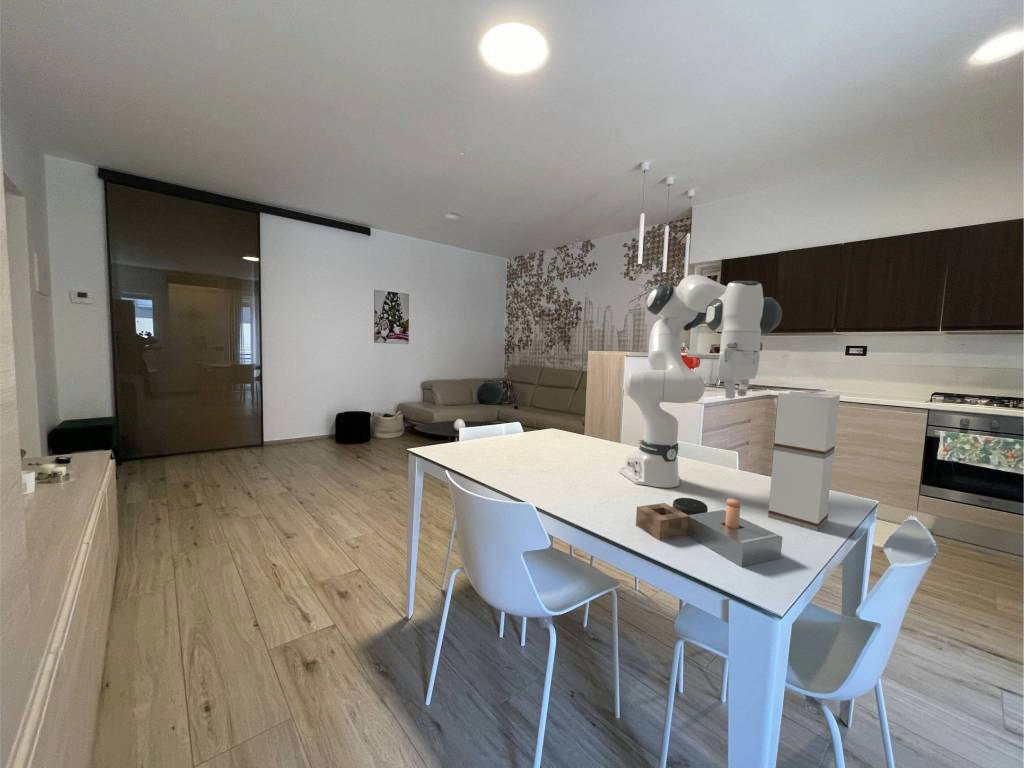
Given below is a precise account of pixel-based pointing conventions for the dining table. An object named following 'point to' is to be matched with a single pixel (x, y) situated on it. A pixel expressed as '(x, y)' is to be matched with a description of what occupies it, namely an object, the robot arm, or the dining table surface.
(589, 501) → the dining table surface
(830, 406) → the white tall box
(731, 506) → the pin
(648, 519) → the mount
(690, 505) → the smart speaker
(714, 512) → the dock
